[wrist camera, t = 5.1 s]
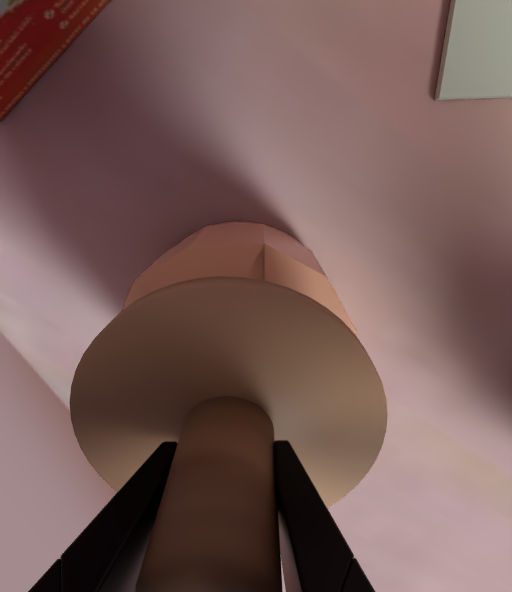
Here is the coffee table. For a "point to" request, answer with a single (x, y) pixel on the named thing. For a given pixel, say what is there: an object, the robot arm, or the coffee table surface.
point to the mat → (477, 51)
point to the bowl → (242, 263)
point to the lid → (226, 420)
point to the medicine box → (36, 40)
